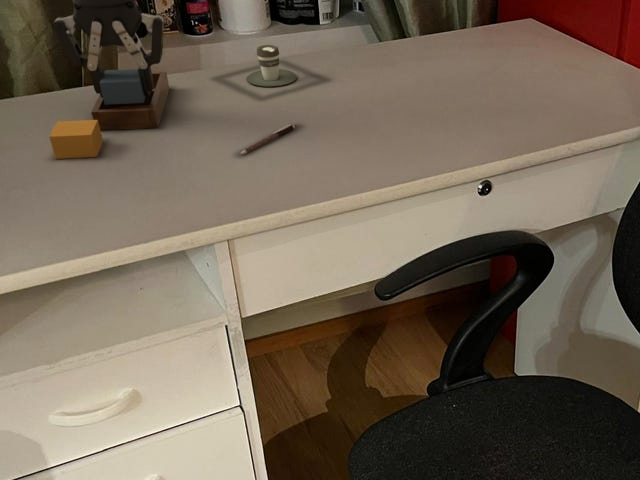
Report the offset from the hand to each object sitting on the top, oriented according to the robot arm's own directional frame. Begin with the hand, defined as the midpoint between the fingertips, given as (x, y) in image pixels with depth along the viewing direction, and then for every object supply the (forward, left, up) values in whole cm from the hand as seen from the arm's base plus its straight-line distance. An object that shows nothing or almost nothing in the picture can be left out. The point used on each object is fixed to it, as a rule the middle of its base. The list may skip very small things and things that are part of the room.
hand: (126, 94), depth 118 cm
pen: (+19, -10, -4) cm, 22 cm away
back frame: (0, +4, -3) cm, 5 cm away
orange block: (-5, -10, -3) cm, 12 cm away
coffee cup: (+19, +14, -4) cm, 24 cm away
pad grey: (0, 0, 0) cm, 0 cm away
